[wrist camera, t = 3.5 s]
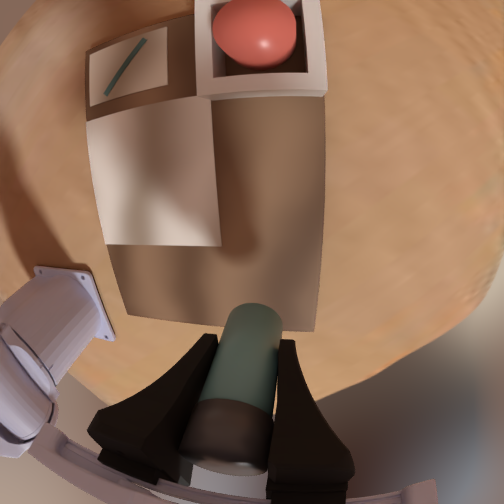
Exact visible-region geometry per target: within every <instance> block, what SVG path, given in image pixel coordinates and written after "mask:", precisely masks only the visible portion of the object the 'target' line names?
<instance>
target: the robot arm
mask: <svg viewBox="0 0 504 504" xmlns="http://www.w3.org/2000/svg"><path fill="white" fill-rule="evenodd" d="M34 273H35V275H36V276H35V277H34V278H32V279H31V280H30V281H29V282H27V283H26V284H25V285H24V286H22V287H21V288H20V289H19V290H18V291H16V292H15V293H14V294H13V295H12V296H10V297H9V298H8V299H7V300H6V301H5V302H4V303H3V304H2V305H1V307H0V456H4V457H11V458H19V457H20V456H21V455H22V453H23V452H25V451H26V450H27V449H28V453H29V454H30V455H32V456H33V457H34V458H36V459H37V460H38V461H40V462H41V463H42V464H44V465H45V466H46V467H48V468H49V469H51V470H52V471H53V472H55V473H56V474H58V475H59V476H61V477H62V478H64V479H65V480H67V481H68V482H70V483H72V484H73V485H75V486H76V487H78V488H80V489H81V490H83V491H85V492H86V493H88V494H90V495H92V496H94V497H96V498H97V499H99V500H101V501H103V502H105V503H107V504H178V503H174V502H171V501H167V500H164V499H161V498H159V497H157V496H155V495H154V494H152V493H151V492H150V491H149V490H146V489H144V488H142V487H140V486H143V487H145V488H148V489H151V490H154V491H157V492H160V493H163V494H166V495H169V496H173V497H176V498H179V499H183V500H187V501H191V502H195V503H199V504H438V499H437V490H436V483H435V479H431V480H428V481H424V482H420V483H416V484H413V485H410V486H407V487H405V488H404V489H402V491H398V492H392V493H387V494H382V495H376V496H369V497H361V498H353V499H346V491H347V488H348V481H349V480H350V479H351V478H352V477H353V476H354V474H355V467H354V462H353V459H352V456H351V454H350V451H349V449H348V448H347V447H346V446H345V445H344V444H343V443H342V442H341V440H340V439H339V438H338V437H337V435H336V434H335V433H334V431H333V430H332V429H331V427H330V426H329V425H328V423H327V421H326V420H325V418H324V417H323V415H322V414H321V412H320V410H319V409H318V407H317V405H316V403H315V401H314V399H313V397H312V395H311V393H310V391H309V389H308V386H307V384H306V382H305V379H304V376H303V373H302V371H301V368H300V364H299V361H298V357H297V353H296V346H295V341H294V340H289V339H280V343H279V350H278V380H277V407H276V414H275V421H274V428H273V434H272V440H271V446H270V452H269V458H268V479H267V485H266V499H256V498H247V497H240V496H232V495H226V494H221V493H215V492H210V491H205V490H201V489H196V488H192V487H188V486H190V482H191V476H192V470H193V464H192V463H190V462H189V461H187V460H186V459H184V458H183V457H182V456H181V455H180V454H179V452H178V449H179V446H180V444H181V441H182V438H183V435H184V432H185V430H186V427H187V424H188V421H189V419H190V416H191V413H192V410H193V407H194V406H195V404H196V403H198V401H199V398H200V395H201V393H202V390H203V387H204V384H205V381H206V378H207V376H208V373H209V370H210V367H211V364H212V361H213V359H214V356H215V353H216V350H217V347H218V339H217V334H207V333H205V334H203V335H202V337H201V338H200V339H199V340H198V341H197V342H196V343H195V344H194V346H193V347H192V348H191V349H190V350H189V351H188V352H187V353H186V354H185V355H184V356H183V357H182V358H181V359H180V360H179V361H178V362H177V363H176V364H175V365H174V366H173V367H172V368H171V369H169V370H168V371H167V372H166V373H165V374H164V375H163V376H161V377H160V378H159V379H158V380H156V381H155V382H153V383H152V384H151V385H149V386H148V387H146V388H145V389H143V390H142V391H140V392H138V393H137V394H135V395H133V396H131V397H129V398H127V399H125V400H123V401H121V402H119V403H117V404H114V405H112V406H109V407H107V408H104V409H101V410H98V412H97V413H96V415H95V417H94V418H93V420H92V422H91V424H90V425H89V427H88V429H87V432H88V433H89V435H90V436H91V437H92V438H93V439H94V440H95V441H96V442H97V443H98V444H99V445H100V446H101V447H102V450H101V453H100V454H97V453H95V452H93V451H91V450H89V449H87V448H85V447H83V446H81V445H79V444H78V443H76V442H74V441H72V440H71V439H69V438H68V437H67V436H66V435H65V434H64V433H63V432H61V431H60V430H59V429H58V428H56V427H55V426H56V423H57V419H58V404H57V402H56V399H57V397H58V396H59V394H60V393H59V392H58V390H57V389H56V385H57V384H58V383H59V381H60V380H61V378H62V377H63V376H64V375H65V373H66V372H67V371H68V369H69V368H70V367H71V365H72V364H73V363H74V361H75V360H76V359H77V358H78V356H79V355H80V354H81V352H82V351H83V350H84V349H85V347H86V346H87V345H88V344H89V342H90V341H91V340H92V339H93V337H96V338H100V339H104V340H108V341H112V342H113V341H115V339H116V337H115V335H114V332H113V330H112V328H111V325H110V323H109V320H108V318H107V315H106V313H105V310H104V308H103V305H102V302H101V300H100V297H99V294H98V291H97V289H96V286H95V283H94V280H93V277H92V274H91V273H90V272H88V271H81V270H71V269H62V268H53V267H44V266H35V267H34ZM133 483H135V484H133ZM136 484H137V485H136ZM138 485H140V486H138Z"/></svg>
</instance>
